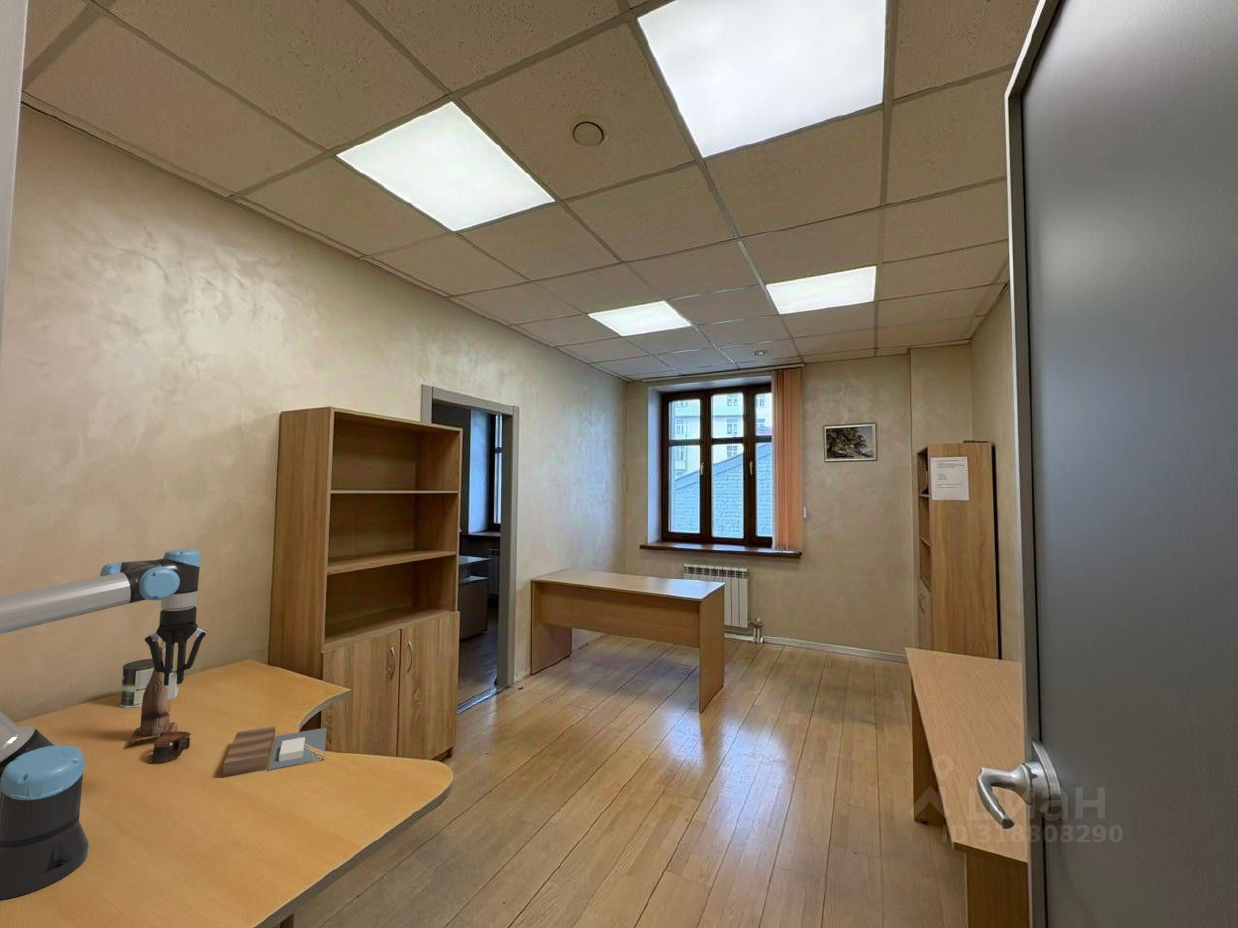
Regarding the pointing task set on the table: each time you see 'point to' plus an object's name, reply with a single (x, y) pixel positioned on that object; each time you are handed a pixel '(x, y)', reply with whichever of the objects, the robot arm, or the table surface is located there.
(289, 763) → the mat
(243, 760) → the block
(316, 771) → the table surface
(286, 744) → the white rectangular block
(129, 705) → the coffee can
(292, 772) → the table surface
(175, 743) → the pottery mug
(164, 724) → the brown tall tapered piece
